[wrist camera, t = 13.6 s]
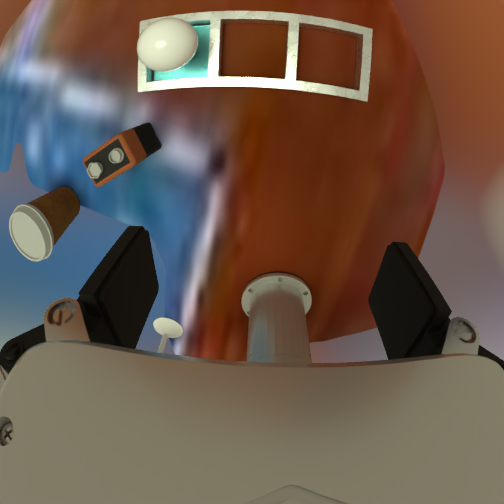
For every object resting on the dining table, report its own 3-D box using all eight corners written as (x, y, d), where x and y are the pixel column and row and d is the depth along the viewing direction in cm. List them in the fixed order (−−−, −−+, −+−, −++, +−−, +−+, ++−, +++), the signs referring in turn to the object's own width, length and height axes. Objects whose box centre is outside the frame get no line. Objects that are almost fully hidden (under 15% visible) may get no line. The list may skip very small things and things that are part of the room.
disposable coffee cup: (86, 181, 38) (42, 215, 28) (88, 230, 43) (52, 270, 33) (47, 174, 37) (3, 203, 27) (50, 220, 42) (13, 255, 32)
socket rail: (360, 100, 30) (367, 101, 28) (145, 91, 30) (138, 92, 28) (365, 32, 24) (372, 29, 22) (147, 24, 25) (140, 21, 22)
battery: (114, 143, 34) (76, 162, 26) (150, 120, 33) (116, 133, 24) (126, 167, 37) (92, 192, 28) (163, 147, 35) (133, 167, 27)
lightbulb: (178, 83, 30) (145, 83, 20) (155, 49, 27) (116, 39, 18) (220, 57, 28) (202, 45, 19) (196, 23, 25) (169, 0, 16)
